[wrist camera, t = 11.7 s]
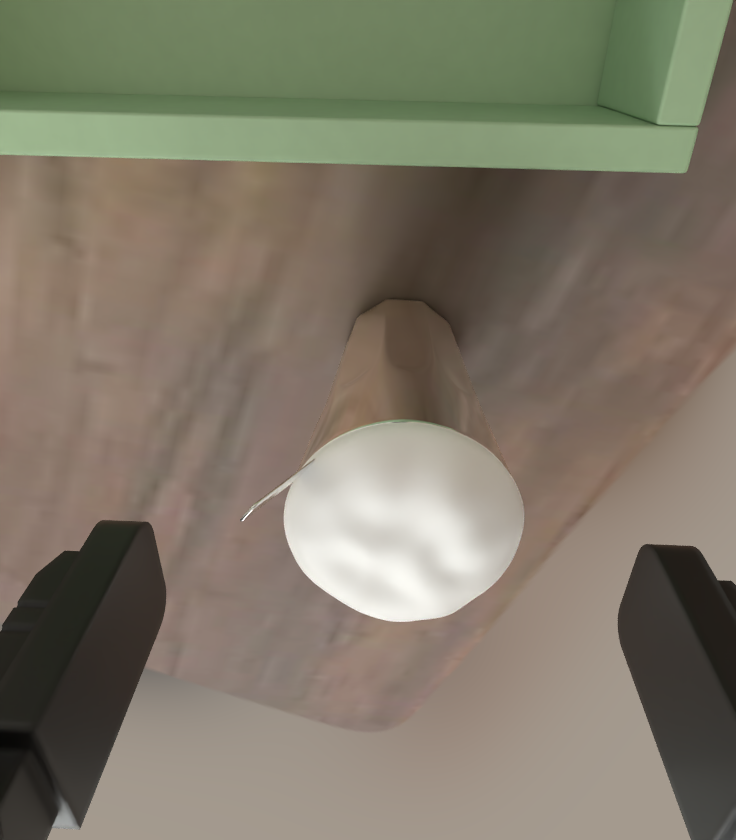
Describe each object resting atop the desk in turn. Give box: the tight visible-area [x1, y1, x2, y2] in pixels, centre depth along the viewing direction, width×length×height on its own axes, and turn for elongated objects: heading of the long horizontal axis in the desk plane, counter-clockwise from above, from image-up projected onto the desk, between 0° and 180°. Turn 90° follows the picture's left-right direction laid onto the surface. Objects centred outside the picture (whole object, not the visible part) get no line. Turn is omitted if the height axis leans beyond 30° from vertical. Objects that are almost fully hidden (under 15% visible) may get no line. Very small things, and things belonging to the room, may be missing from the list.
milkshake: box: [240, 299, 524, 622], centre depth 14 cm, size 5×5×10 cm
